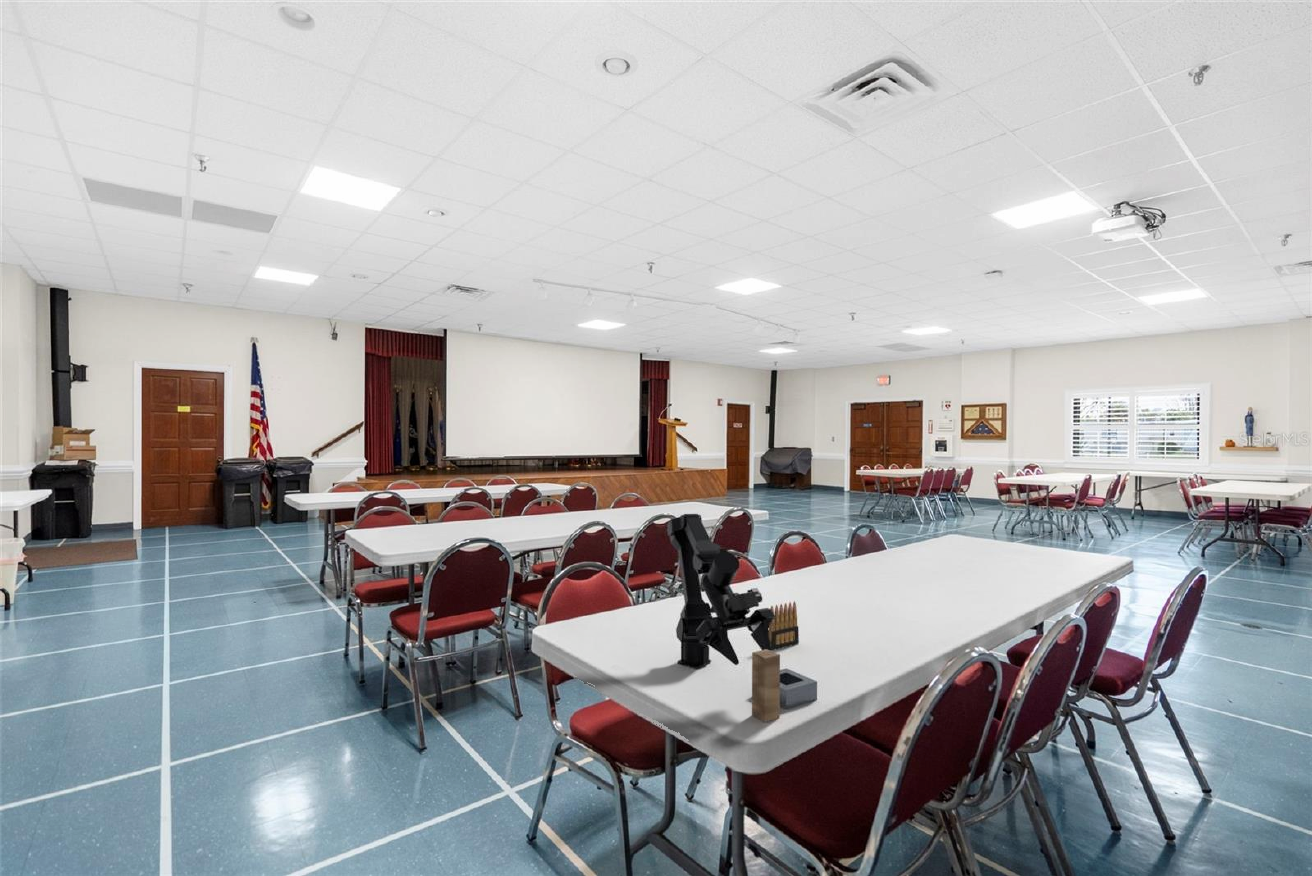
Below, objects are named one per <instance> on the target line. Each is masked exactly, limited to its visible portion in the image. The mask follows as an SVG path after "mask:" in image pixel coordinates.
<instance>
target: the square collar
mask: <svg viewBox="0 0 1312 876" xmlns="http://www.w3.org/2000/svg"><path fill="white" fill-rule="evenodd" d="M813 700H814V701H817V700H818V681H817V680H815V679H813V678H810V677H807V676H806V675H804V674H801V673H798V672H796V671H795V670H791V669H790V668H782V669H780V708H784V709H786V710H787V709H791V708H794V707H798V706H801V705H804V704H808V703H811V702H813ZM807 702H808V703H807Z"/></svg>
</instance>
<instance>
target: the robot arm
mask: <svg viewBox="0 0 1312 876" xmlns="http://www.w3.org/2000/svg"><path fill="white" fill-rule="evenodd" d="M702 520H703V519H702V516H701V514H698V513H684V514H681V515H680V516H678V517H675V518H672V519H670V521H668V523H667V527H666V530H667V531H666V532H667V536H669V540H670V544H671V545H672V546H673V548H674V549H675V550H676V551H677V555H678V562H679V571H680V576H681V583H682V591H683V592H682V593H683V599H684V605H683V608H682V610H681V612H680V616H679V617H680V618H679V620H678V623H677V625H676V628H675V631H676V632H675V633H676V638H677V640H678V641H680V659H679V660H677V661H676V662H677V664H679V665H683V666H686V667H691V668H694V669H700V668H702V667H704V666H706V665H708V664H710V663H711V662H712V660H711V659H710V647H711V648H712V649H713V650H715V651H716V652H718V653H719V654H721V655H722V656H723V657H725V658H726V659H727V660H728V661H729V662H731V663H732V664H734V666H738V664H740V662H739V659H738V658H739V657H738V656H737V654H736V652H735V649H734V647H733V645H732V643H731V641H730V638H729V636H728V635H729V633H728V631H731V630H732V631H733V630H736V629H741V628H747V629H748V631H749V632H751V634H750V636H751V637H752V639H753V641H755V643H756V645H758V646H759V648H760V649H761V650H765V649H767V650H770V651H772V650H771V647H770V641H769V633H768V630H769V625H770V624H771V623H772V620H773V619H774V618H775V616H774V614H773V612H772V610H771V608H768V607H765V608H759V609H755V610H754V611H753V612H752V614H751V615H750V616H747V615H749V614H750V612H751V609H752V608H758V607H760V604H759V603H762V602H763V596H762V593H761V592H760V590H759V589H758V587H754V588H750V589H748V590H747V592H743V593H738V592H734V591H733V589H732V587H731V586H730V585H731V584H732V583H733V581H734V579H735V577H736V575H737V572H738V570H739V568H740V560H739V559H738V557H737V556H736V555H735V554H733V553H732V552H729V551H728V548H727V547H721V546H720V545H719V544H717V543H715V542H713V541H712V540H711V538H710V535H709V534H708V532H707V530H706V528H705V526H704V524H703V522H702ZM699 575H705V576H704V577H703V579H701V582H700V578H699V577H700V576H699ZM702 593H705V595H706V597H707V599H708V601H709V603H708V602H705V601H704V599H703V597H702ZM714 613H715V616H712V614H714Z"/></svg>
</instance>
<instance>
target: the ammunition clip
mask: <svg viewBox="0 0 1312 876" xmlns="http://www.w3.org/2000/svg"><path fill="white" fill-rule="evenodd" d="M796 603H797V602H796V601H793V603H791V601H789V603H788V604H787V602H785V603H784V606H783V604H782V603H780V604H779V606H778V604H775V607H774V606H773V605H770V609H771V610H772V612H773V614H774V616H775V618H774V619H773V620H772V623H771V624H770V625H769V629H768V633H769V641H770V647H771V651H774V650H775V649H776V650H779V649H778V648H780V649H783V648H782V647H784V648H787V647H791V646H790V645H792V646H795V645H794V644H796V645H798V644H797V643H800V638H799V625H798V614H797V613H798V612H797V604H796Z"/></svg>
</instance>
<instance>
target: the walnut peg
mask: <svg viewBox="0 0 1312 876" xmlns="http://www.w3.org/2000/svg"><path fill="white" fill-rule="evenodd" d="M780 658H781V655H780V654H779V653H777V652H774V651H773V650H771V651H770V650H767V649H765V650H762V649H761V650H758V651H754V652H752V654H751V659H752V660H751V662H752V663H751V664H752V665H751V716H752V717H754V718H756V719H758V720H760V721H761V720H762V721H761V722H764V723H768V722H771V721H770V720H772V721H774V720H777V718H778V719H780V713H781V711H780V709H781V706H780V670H781V659H780ZM767 721H768V722H767Z"/></svg>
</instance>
